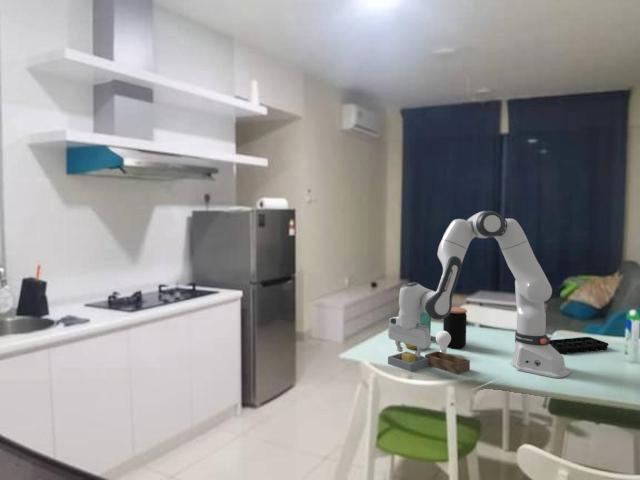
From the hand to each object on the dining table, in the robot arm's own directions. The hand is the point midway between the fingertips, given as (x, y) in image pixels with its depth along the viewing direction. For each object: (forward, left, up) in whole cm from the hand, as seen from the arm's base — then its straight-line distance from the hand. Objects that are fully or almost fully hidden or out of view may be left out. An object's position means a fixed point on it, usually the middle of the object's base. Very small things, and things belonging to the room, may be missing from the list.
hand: (408, 354), depth 199 cm
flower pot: (+16, -22, -5) cm, 28 cm away
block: (0, 0, -4) cm, 4 cm away
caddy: (-12, -10, -5) cm, 16 cm away
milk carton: (+25, -39, -5) cm, 47 cm away
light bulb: (0, -24, -5) cm, 25 cm away
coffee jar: (+5, -40, -5) cm, 41 cm away
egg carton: (-33, -82, -6) cm, 89 cm away
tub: (0, 0, -5) cm, 5 cm away
